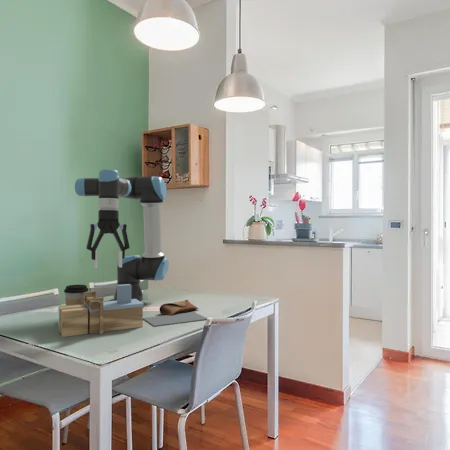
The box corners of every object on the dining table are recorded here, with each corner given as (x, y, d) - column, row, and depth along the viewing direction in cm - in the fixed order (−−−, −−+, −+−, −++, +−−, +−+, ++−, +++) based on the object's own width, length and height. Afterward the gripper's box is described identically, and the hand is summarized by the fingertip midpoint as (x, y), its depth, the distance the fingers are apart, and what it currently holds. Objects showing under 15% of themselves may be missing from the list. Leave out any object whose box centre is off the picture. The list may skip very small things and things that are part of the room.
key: (84, 301, 157) (84, 295, 157) (91, 301, 158) (91, 295, 158) (92, 309, 143) (92, 303, 143) (99, 309, 144) (99, 302, 144)
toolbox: (57, 328, 152) (58, 294, 152) (133, 319, 167) (133, 288, 166) (63, 338, 139) (63, 301, 139) (144, 328, 153) (144, 294, 153)
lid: (84, 309, 155) (84, 285, 155) (135, 304, 165) (135, 282, 165) (89, 314, 145) (89, 289, 145) (143, 309, 155) (143, 285, 155)
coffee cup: (67, 320, 165) (68, 284, 165) (91, 319, 166) (91, 284, 166) (60, 326, 155) (60, 288, 155) (85, 325, 156) (85, 288, 156)
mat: (143, 318, 168) (143, 317, 168) (194, 312, 180) (194, 312, 180) (153, 326, 156) (153, 325, 156) (208, 319, 168) (208, 318, 168)
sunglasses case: (172, 314, 172) (167, 300, 174) (163, 321, 176) (157, 307, 178) (200, 308, 186) (194, 295, 188) (190, 314, 190) (185, 301, 192)
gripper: (81, 208, 145) (81, 270, 145) (138, 210, 156) (138, 267, 156) (77, 209, 152) (77, 268, 152) (132, 210, 162) (132, 265, 162)
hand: (108, 267), depth 154 cm, fingers open, 9 cm apart
